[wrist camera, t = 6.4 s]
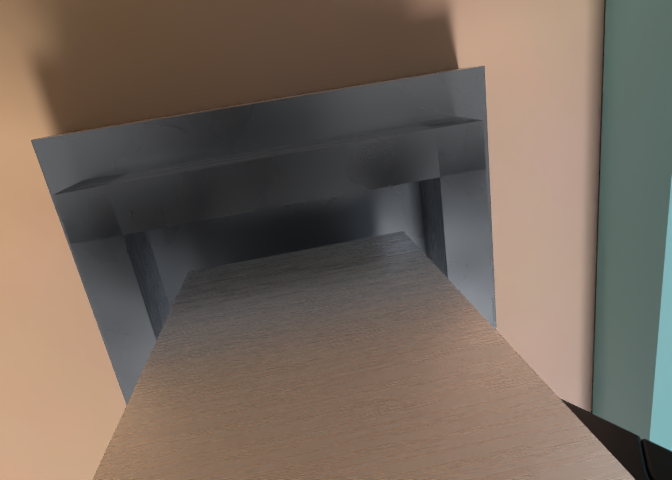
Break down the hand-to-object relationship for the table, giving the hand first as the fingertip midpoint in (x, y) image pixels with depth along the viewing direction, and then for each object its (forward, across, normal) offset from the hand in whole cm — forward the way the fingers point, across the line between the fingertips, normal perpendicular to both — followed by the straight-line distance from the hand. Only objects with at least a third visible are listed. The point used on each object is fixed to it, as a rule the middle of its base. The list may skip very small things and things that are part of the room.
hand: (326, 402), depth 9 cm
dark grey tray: (+5, 0, +5) cm, 7 cm away
